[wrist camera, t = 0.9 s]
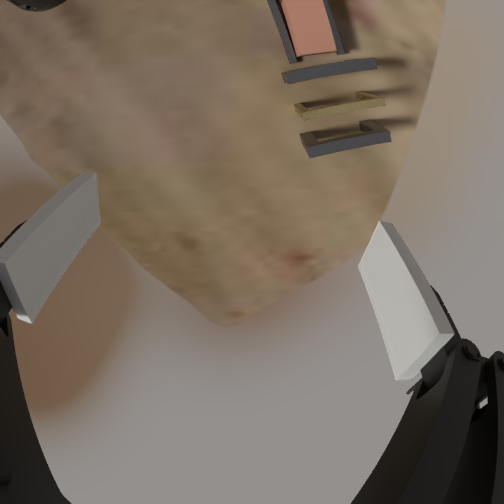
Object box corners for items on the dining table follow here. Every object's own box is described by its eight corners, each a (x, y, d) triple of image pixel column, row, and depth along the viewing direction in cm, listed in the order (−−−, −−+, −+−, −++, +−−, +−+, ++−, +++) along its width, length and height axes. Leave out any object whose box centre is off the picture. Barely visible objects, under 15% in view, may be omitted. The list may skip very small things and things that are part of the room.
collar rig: (255, 1, 23) (253, -16, 17) (331, -12, 21) (347, -30, 15) (302, 142, 34) (311, 160, 28) (370, 128, 32) (394, 143, 26)
